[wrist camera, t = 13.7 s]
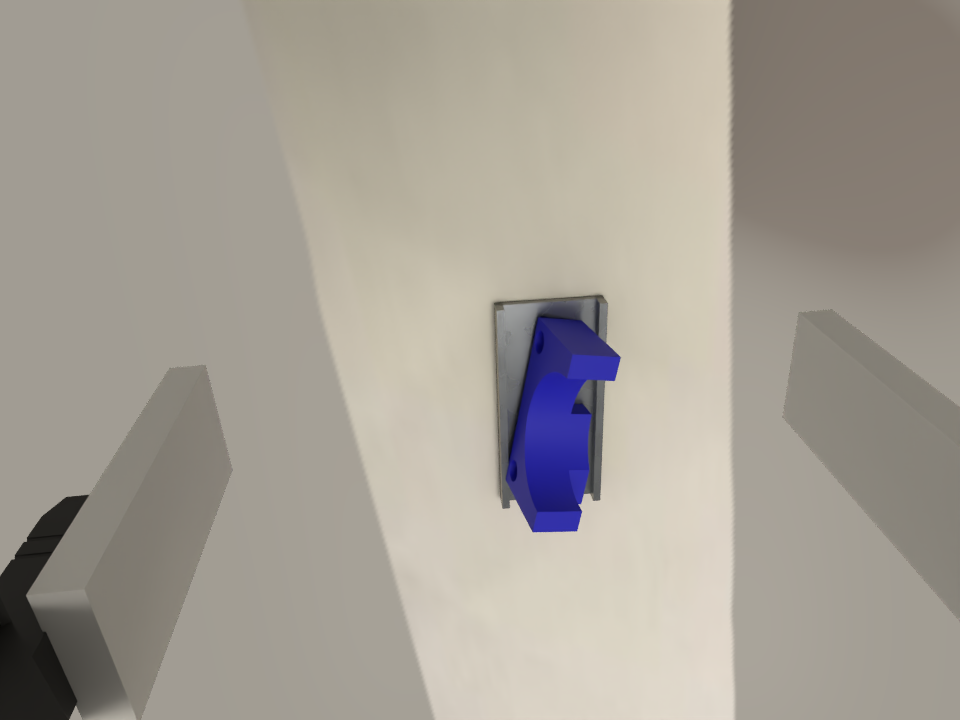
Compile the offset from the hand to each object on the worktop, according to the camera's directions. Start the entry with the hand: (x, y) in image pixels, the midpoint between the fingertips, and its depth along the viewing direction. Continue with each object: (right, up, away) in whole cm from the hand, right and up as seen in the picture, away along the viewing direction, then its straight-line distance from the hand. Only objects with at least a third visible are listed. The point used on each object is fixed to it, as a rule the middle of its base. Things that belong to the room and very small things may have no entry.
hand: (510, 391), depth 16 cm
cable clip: (+4, -2, +33) cm, 33 cm away
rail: (+4, -2, +34) cm, 34 cm away
